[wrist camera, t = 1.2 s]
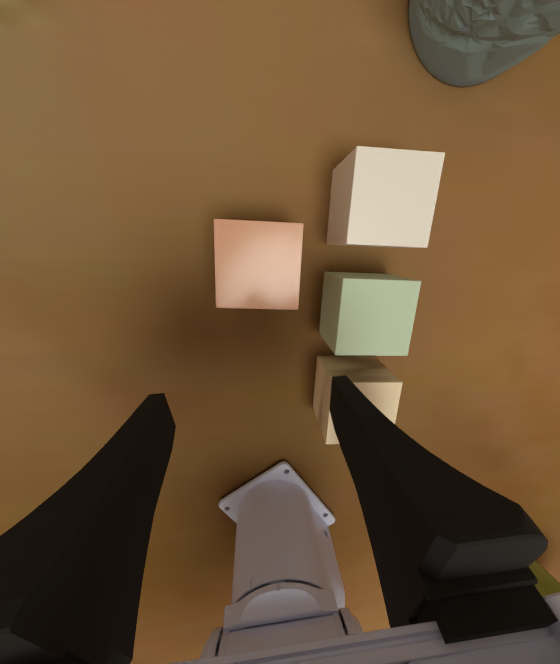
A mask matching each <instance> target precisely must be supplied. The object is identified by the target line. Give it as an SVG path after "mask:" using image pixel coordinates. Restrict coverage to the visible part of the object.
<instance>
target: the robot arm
mask: <svg viewBox="0 0 560 664" xmlns="http://www.w3.org/2000/svg"><path fill="white" fill-rule="evenodd" d="M329 410H330V414H331V418H332V422H333V426H334V430H335V433H336V436H337V439H338V441H339V444H340V447H341V449H342V452H343V455H344V457H345V460H346V462H347V465H348V468H349V470H350V473H351V476H352V478H353V481H354V484H355V487H356V490H357V494H358V497H359V501H360V504H361V508H362V512H363V515H364V519H365V523H366V527H367V531H368V534H369V538H370V542H371V546H372V550H373V554H374V558H375V562H376V567H377V571H378V575H379V579H380V584H381V588H382V592H383V597H384V601H385V605H386V610H387V615H388V619H389V624H390V627H391V628H388V629H382V630H376V631H370V632H363V630H362V627H361V625H360V623H359V621H358V619H357V618H356V617H355V616H354V615H353V614H352V613H351V612H350V610H349V609H348V608H346V607H345V592H344V587H343V582H342V579H341V575H340V571H339V567H338V563H337V559H336V555H335V551H334V548H333V544H332V540H331V536H330V532H329V528H328V526H329V525H331V524H333V523H334V522H335V517H334V515H333V514H332V513H331V512H330V511H329V509H328V508H327V507H326V506H325V505H324V504H323V503H322V501H321V500H320V499H319V498H318V497H317V496H316V495H315V493H314V492H313V491H312V490H311V489H310V488H309V487H308V485H307V484H306V483H305V482H304V481H303V480H302V479H301V477H300V476H299V475H298V474H297V473H296V472H295V471H294V469H293V468H292V467H291V466H290V465H289V464H288V463H287V462H285V461H282V462H280V463H278V464H277V465H275V466H274V467H272V468H270V469H269V470H267V471H266V472H264V473H263V474H261V475H259V476H258V477H256V478H255V479H253V480H251V481H250V482H248V483H247V484H245V485H243V486H242V487H240V488H239V489H237V490H235V491H234V492H232V493H231V494H229V495H227V496H226V497H224V498H223V499H221V500H220V501H219V507H220V509H222V510H223V511H224V512H225V513H226V514H227V515H228V516H229V517H230V518H231V519H232V520H233V521H234V522H235V523H236V524H237V529H236V543H235V558H234V572H233V586H232V601H231V605H226V606H225V612H224V624H223V627H218V628H215V629H214V630H213V631H212V632H211V634H210V637H209V639H208V640H207V642H206V643H205V645H204V647H203V649H202V652H201V656H200V659H196V660H189V661H183V662H177V663H171V664H560V592H558V593H554V594H550V595H547V596H544V597H542V596H541V594H540V593H539V591H538V590H537V588H536V587H535V584H537V583H538V580H537V578H536V577H535V575H534V574H533V572H532V571H531V569H530V568H529V565H531V564H532V563H533V562H534V561H535V560H536V559H537V558H538V557H540V556H541V555H542V554H543V553H544V552H545V550H546V549H547V546H548V540H547V539H546V537H545V536H544V535H543V533H542V532H541V531H540V529H539V528H538V527H537V526H536V524H535V523H534V522H533V520H532V519H531V518H530V517H529V515H528V514H527V513H526V512H525V511H524V510H523V509H522V507H521V506H520V505H519V504H517V503H515V502H513V501H511V500H509V499H507V498H506V497H504V496H502V495H500V494H498V493H496V492H494V491H492V490H491V489H489V488H487V487H485V486H483V485H481V484H480V483H478V482H476V481H474V480H473V479H471V478H469V477H468V476H466V475H464V474H463V473H461V472H459V471H458V470H456V469H455V468H453V467H451V466H450V465H448V464H447V463H445V462H444V461H442V460H441V459H439V458H438V457H436V456H435V455H433V454H432V453H430V452H429V451H428V450H426V449H425V448H424V447H422V446H421V445H419V444H418V443H417V442H416V441H414V440H413V439H412V438H410V437H409V436H408V435H407V434H406V433H404V432H403V431H402V430H401V429H400V428H398V427H397V426H396V425H395V424H394V423H393V422H392V421H390V420H389V419H388V418H387V417H386V416H385V415H384V414H383V413H382V412H381V411H380V410H379V409H378V408H377V407H376V406H375V405H374V404H373V403H372V402H371V401H370V400H369V399H368V398H367V397H366V396H365V395H364V394H363V393H362V392H361V391H360V390H359V389H358V388H357V387H356V386H355V384H354V383H353V382H352V381H351V380H350V379H349V378H348V377H347V376H346V375H343V376H333V377H332V384H331V396H330V408H329ZM175 427H176V425H175V422H174V420H173V417H172V414H171V411H170V408H169V406H168V403H167V400H166V397H165V395H164V393H160V394H150V395H148V397H147V398H146V399H145V400H144V401H143V402H142V403H141V405H140V406H139V407H138V408H137V409H136V410H135V412H134V413H133V414H132V415H131V416H130V417H129V419H128V420H127V421H126V422H125V423H124V424H123V426H122V427H121V428H120V429H119V430H118V431H117V432H116V433H115V435H114V436H113V437H112V438H111V439H110V440H109V441H108V442H107V443H106V444H105V445H104V447H103V448H102V449H101V450H100V451H99V452H98V453H97V454H96V455H95V456H94V457H93V458H92V459H91V460H90V461H89V462H88V463H87V464H86V465H85V466H84V467H83V468H82V469H81V470H80V471H79V472H78V473H77V474H75V475H74V476H73V477H72V478H71V479H70V480H69V481H68V482H67V483H66V484H65V485H63V486H62V487H61V488H60V489H59V490H58V491H56V492H55V493H54V494H53V495H52V496H50V497H49V498H48V499H47V500H46V501H44V502H43V503H42V504H41V505H40V506H38V507H37V508H36V509H35V510H34V511H32V512H31V513H30V514H29V515H27V516H26V517H25V518H24V519H22V520H21V521H20V522H18V523H17V524H16V525H14V526H13V527H12V528H11V529H9V530H8V531H7V532H5V533H4V534H2V535H1V536H0V664H130V662H131V661H132V658H133V649H134V640H135V632H136V624H137V615H138V607H139V601H140V594H141V587H142V580H143V573H144V567H145V561H146V555H147V549H148V543H149V538H150V533H151V527H152V522H153V517H154V513H155V508H156V504H157V501H158V497H159V494H160V490H161V487H162V483H163V480H164V476H165V473H166V469H167V466H168V462H169V459H170V455H171V451H172V447H173V441H174V434H175ZM286 469H287V471H285V470H286Z"/></svg>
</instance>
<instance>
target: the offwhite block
mask: <svg viewBox="0 0 560 664" xmlns="http://www.w3.org/2000/svg"><path fill="white" fill-rule="evenodd" d="M444 156H445V153H440V152H428V151H415V150H402V149H389V148H377V147H364V146H356V147H355V148H354V149H353V150H352V151H351V152H350V153H349V154H348V155H347V156H346V157H345V158H344V159H343V160H342V161H341V162H340V163H339V164H338V165H337V166H336V167H335V168H334V169H333V173H332V184H331V196H330V208H329V219H328V231H327V243H326V245H348V246H370V247H404V248H427V247H428V241H429V236H430V231H431V225H432V220H433V215H434V209H435V204H436V199H437V193H438V188H439V183H440V177H441V172H442V167H443V161H444Z"/></svg>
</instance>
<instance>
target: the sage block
mask: <svg viewBox="0 0 560 664" xmlns="http://www.w3.org/2000/svg"><path fill="white" fill-rule="evenodd" d="M420 286H421V281H419V280H414V279H409V278H404V277H399V276H395V275H390V274H379V273H351V272H324V280H323V292H322V304H321V315H320V327H319V334H320V335H321V337H322V338H323V339H324V341H325V342H326V343H327V345H328V346H329V347H330V349H331V350H332V352H333V353H334V354H335V355H378V356H407V355H408V350H409V345H410V339H411V334H412V329H413V323H414V318H415V313H416V307H417V302H418V296H419V291H420Z"/></svg>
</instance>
